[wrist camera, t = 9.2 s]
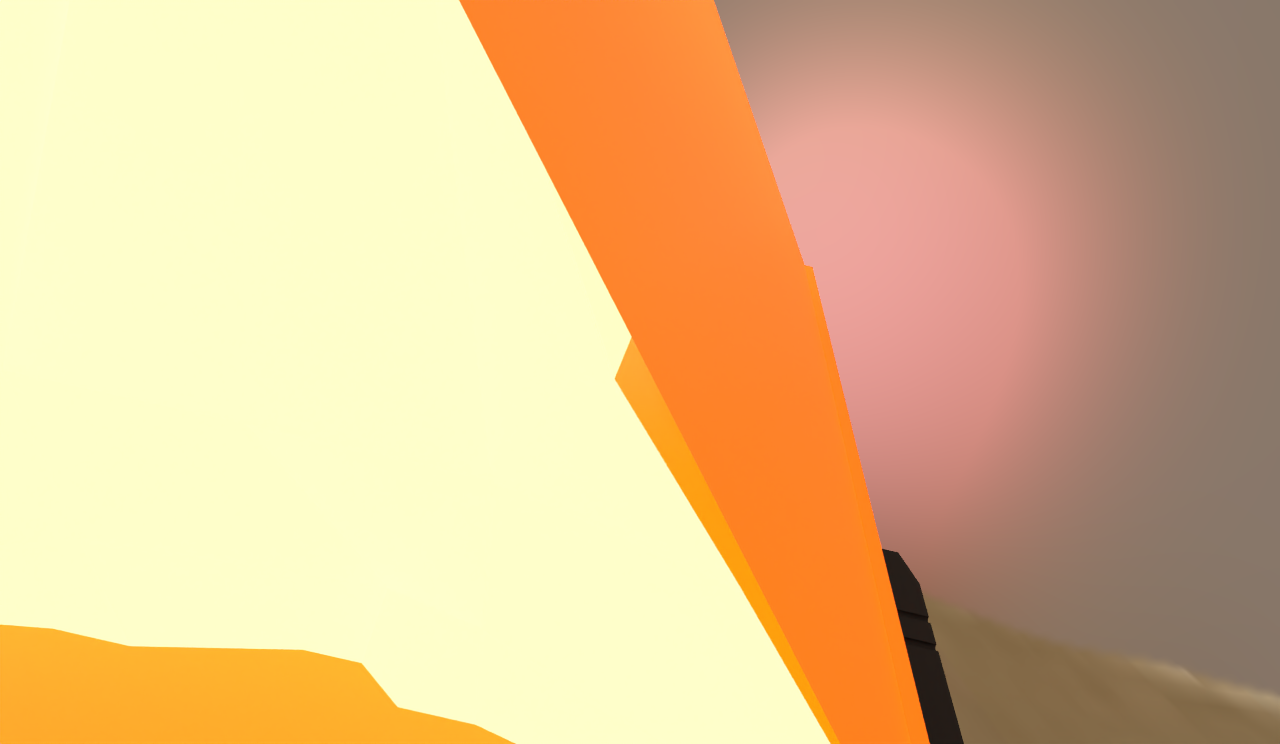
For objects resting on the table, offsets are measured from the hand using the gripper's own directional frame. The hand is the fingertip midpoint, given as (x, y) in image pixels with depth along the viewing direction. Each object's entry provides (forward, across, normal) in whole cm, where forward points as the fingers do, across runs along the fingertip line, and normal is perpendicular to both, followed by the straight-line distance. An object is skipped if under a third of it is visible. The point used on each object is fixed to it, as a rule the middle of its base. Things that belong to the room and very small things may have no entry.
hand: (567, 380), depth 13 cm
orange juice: (-5, 0, -11) cm, 12 cm away
